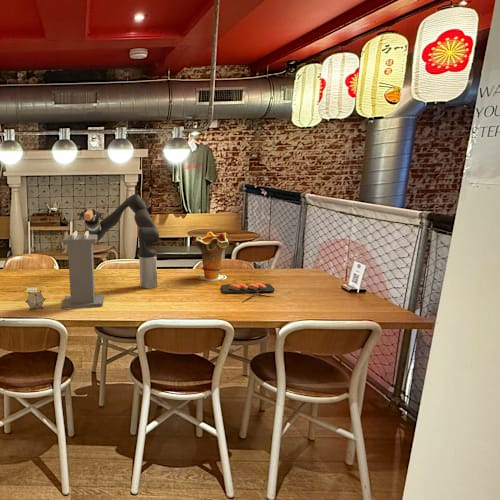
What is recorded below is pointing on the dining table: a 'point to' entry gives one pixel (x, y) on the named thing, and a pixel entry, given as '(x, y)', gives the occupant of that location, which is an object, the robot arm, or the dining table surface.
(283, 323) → the dining table surface
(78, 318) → the dining table surface
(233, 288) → the sushi plate
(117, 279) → the dining table surface
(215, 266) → the decorative vase
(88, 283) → the stand
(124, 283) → the dining table surface
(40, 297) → the game die
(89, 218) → the bar
